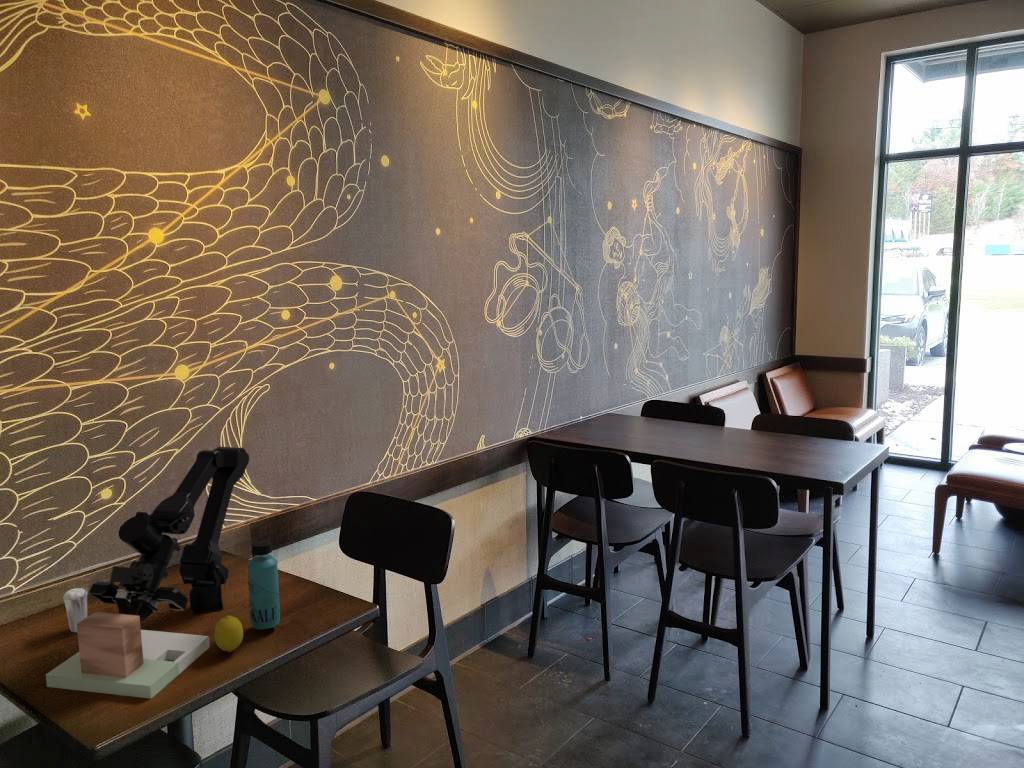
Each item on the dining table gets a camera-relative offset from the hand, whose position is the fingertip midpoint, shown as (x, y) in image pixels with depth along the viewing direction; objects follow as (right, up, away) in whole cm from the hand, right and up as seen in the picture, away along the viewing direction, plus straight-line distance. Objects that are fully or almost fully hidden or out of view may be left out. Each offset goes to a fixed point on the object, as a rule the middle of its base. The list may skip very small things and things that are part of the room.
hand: (120, 638), depth 146 cm
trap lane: (0, -7, +4) cm, 8 cm away
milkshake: (-19, -4, +19) cm, 27 cm away
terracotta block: (0, -5, -2) cm, 5 cm away
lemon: (+18, -6, +9) cm, 21 cm away
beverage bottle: (+22, -4, +19) cm, 29 cm away
